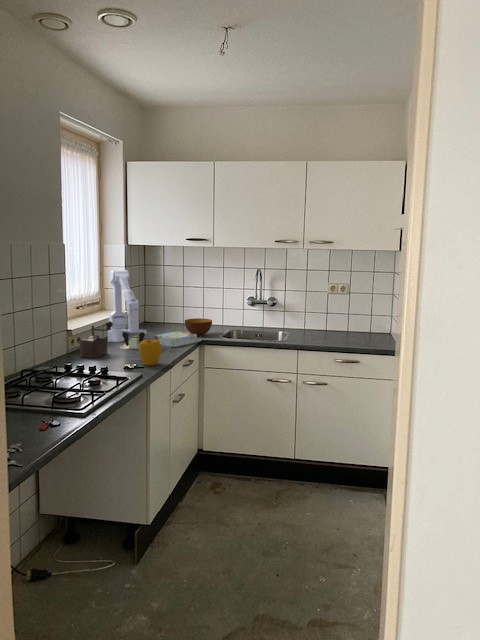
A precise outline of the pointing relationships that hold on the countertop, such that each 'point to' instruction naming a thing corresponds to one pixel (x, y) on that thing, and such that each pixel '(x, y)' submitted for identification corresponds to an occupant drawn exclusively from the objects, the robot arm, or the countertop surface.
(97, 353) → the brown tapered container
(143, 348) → the yellow bell pepper
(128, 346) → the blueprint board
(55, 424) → the countertop surface
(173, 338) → the snack box
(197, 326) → the bowl
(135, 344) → the sage block
